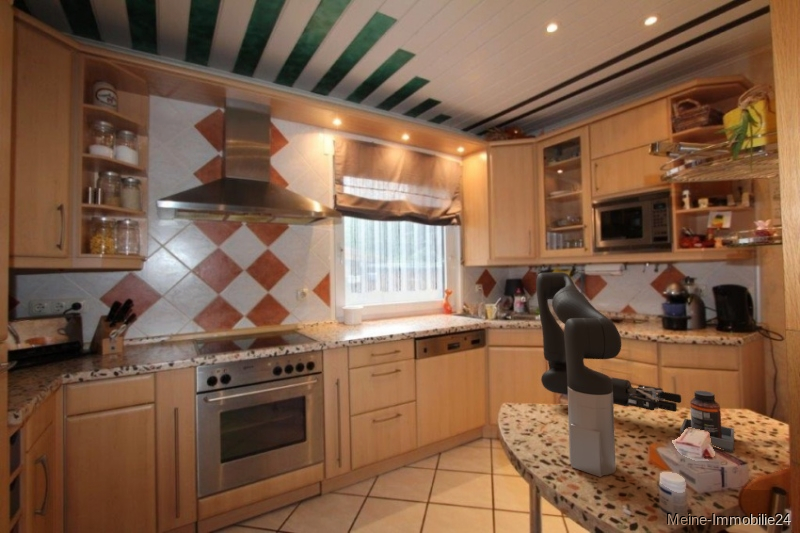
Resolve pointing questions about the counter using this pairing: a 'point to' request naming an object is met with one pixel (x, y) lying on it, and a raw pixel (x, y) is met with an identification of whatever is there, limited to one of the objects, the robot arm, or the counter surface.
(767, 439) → the counter surface
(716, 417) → the supplement bottle
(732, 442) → the slate tray
